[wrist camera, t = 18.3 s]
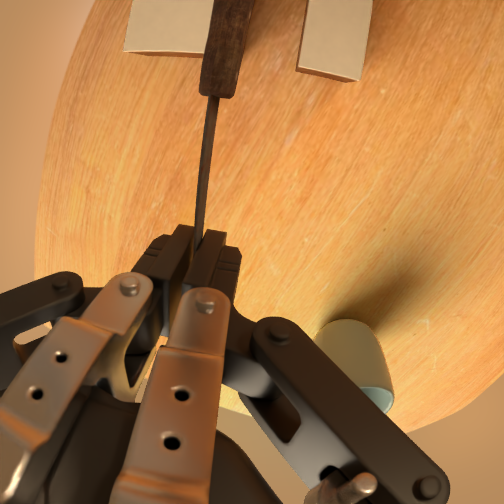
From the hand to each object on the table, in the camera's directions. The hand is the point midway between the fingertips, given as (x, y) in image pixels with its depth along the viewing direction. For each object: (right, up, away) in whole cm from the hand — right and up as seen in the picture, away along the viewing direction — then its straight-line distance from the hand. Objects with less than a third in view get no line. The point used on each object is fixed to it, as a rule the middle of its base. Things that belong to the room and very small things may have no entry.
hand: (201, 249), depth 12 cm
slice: (+8, +17, +6) cm, 19 cm away
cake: (-2, +18, +6) cm, 20 cm away
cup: (+12, -9, +21) cm, 25 cm away
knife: (+1, +5, -3) cm, 6 cm away
